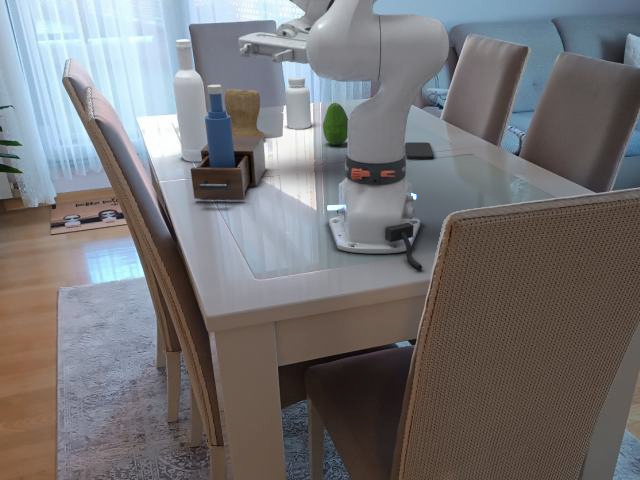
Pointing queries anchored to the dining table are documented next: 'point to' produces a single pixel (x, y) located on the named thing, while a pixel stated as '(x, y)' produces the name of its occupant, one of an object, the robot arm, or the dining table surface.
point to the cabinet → (254, 149)
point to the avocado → (335, 124)
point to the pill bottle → (298, 104)
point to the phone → (418, 150)
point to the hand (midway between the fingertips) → (258, 56)
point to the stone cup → (243, 111)
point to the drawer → (221, 179)
